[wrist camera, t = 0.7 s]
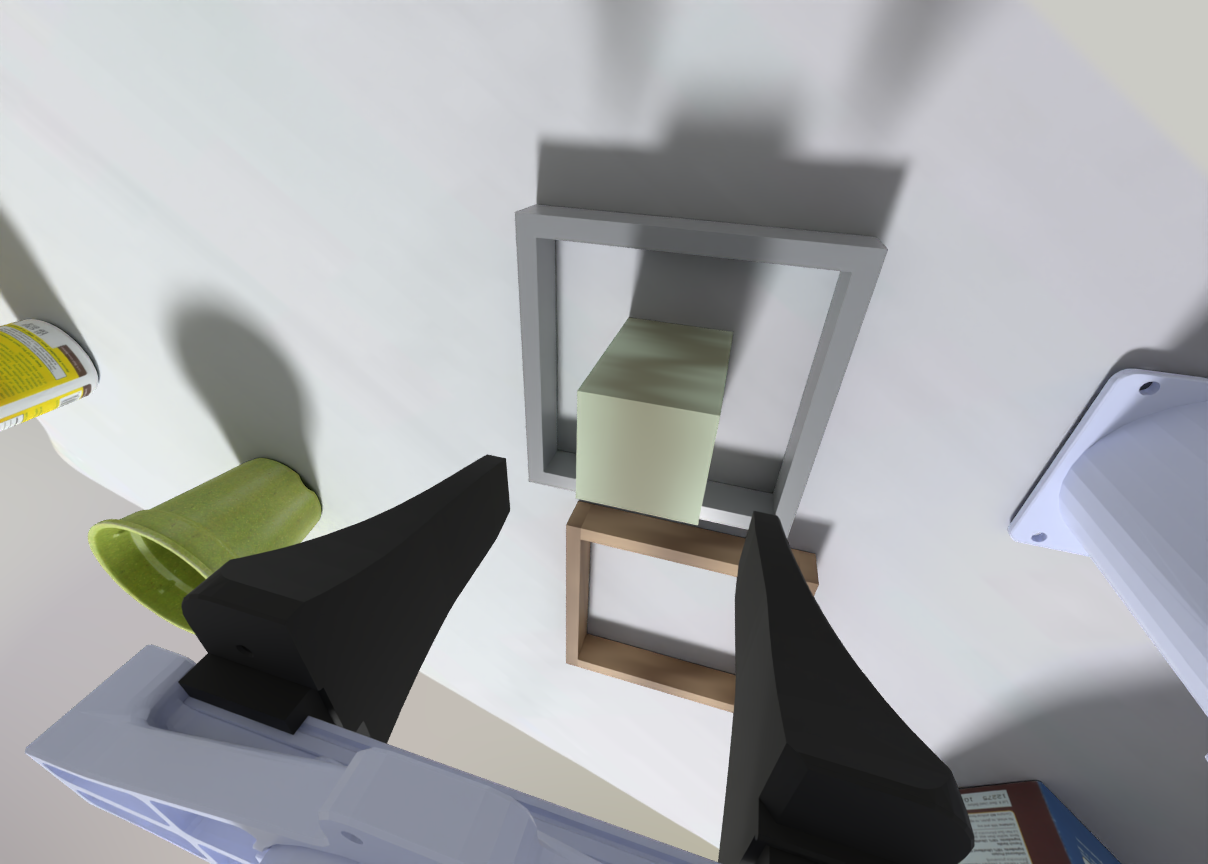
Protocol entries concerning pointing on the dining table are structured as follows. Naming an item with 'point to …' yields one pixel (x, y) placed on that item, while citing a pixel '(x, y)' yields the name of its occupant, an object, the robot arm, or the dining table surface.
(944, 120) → the dining table surface
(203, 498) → the plant pot
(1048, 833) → the protein box
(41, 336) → the supplement bottle
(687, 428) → the sage block
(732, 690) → the brown wooden square frame
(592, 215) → the charcoal bin
